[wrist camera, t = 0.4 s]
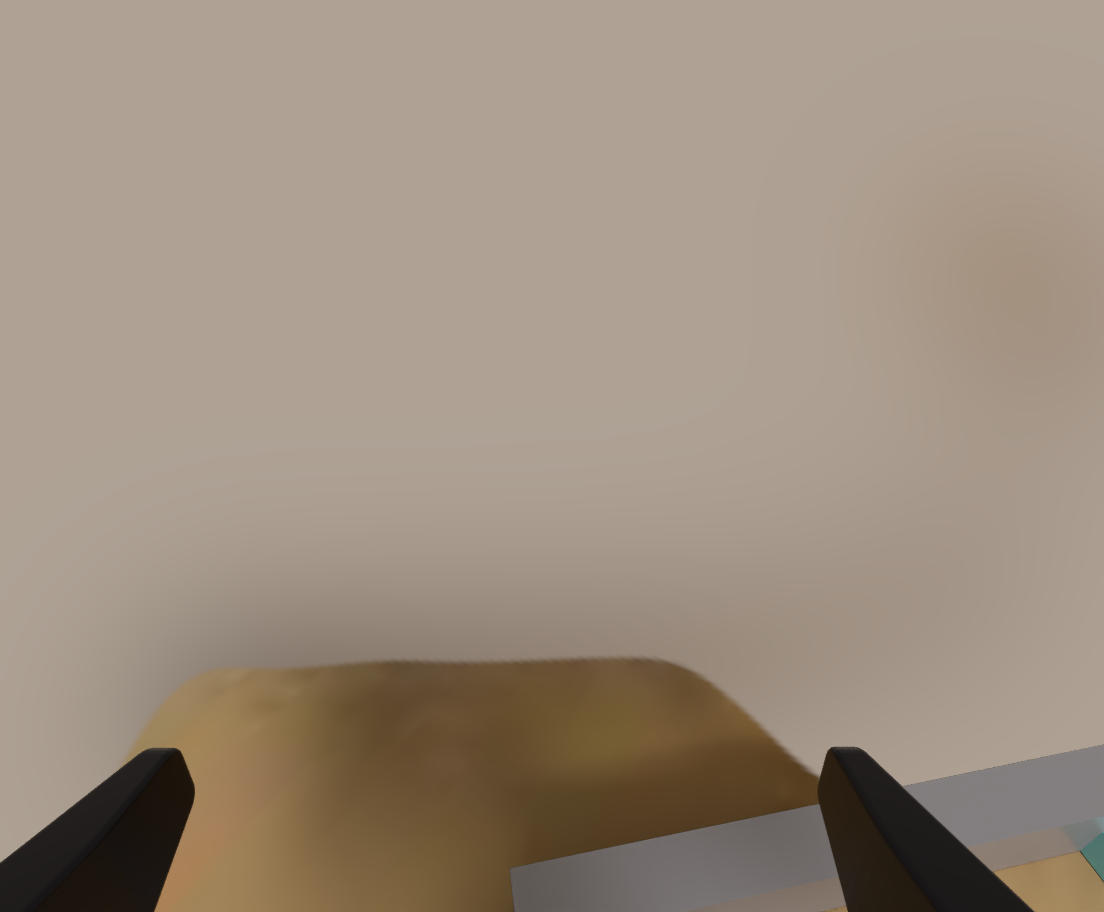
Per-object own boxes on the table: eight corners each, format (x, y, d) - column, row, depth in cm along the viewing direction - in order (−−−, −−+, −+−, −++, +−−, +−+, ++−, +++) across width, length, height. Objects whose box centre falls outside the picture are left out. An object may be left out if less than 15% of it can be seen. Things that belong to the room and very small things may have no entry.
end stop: (1117, 842, 22) (1167, 801, 20) (522, 981, 19) (518, 948, 17) (1069, 784, 24) (1112, 742, 22) (513, 905, 21) (509, 868, 19)
